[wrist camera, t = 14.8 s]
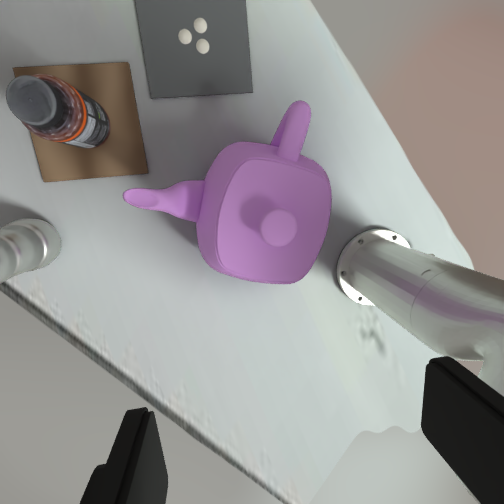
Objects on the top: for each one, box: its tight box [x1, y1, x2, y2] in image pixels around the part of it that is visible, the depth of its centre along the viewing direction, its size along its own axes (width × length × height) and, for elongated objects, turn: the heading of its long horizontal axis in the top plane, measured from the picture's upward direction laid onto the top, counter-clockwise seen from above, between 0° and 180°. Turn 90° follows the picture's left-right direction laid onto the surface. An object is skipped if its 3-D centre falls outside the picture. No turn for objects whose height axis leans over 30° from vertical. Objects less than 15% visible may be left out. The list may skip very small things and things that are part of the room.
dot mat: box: [135, 0, 253, 99], centre depth 35 cm, size 13×13×1 cm
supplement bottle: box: [6, 74, 111, 148], centre depth 30 cm, size 6×6×11 cm
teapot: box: [123, 101, 331, 284], centre depth 33 cm, size 23×21×15 cm
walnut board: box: [13, 62, 148, 182], centre depth 35 cm, size 13×13×1 cm
